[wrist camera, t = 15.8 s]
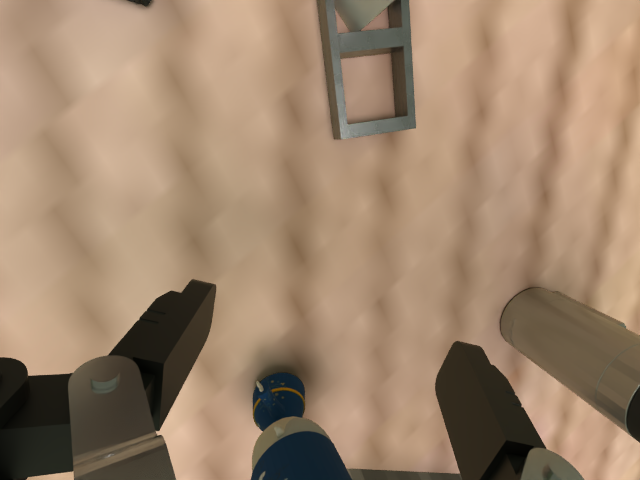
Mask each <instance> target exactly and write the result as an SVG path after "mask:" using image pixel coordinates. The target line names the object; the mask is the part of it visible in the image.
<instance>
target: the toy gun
mask: <svg viewBox="0 0 640 480" xmlns="http://www.w3.org/2000/svg"><path fill="white" fill-rule="evenodd" d="M128 1H131V2H135V3H138V4H143V5H144V6H148V5H149V3H150V1H151V0H128Z"/></svg>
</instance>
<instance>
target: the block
mask: <svg viewBox="0 0 640 480" xmlns="http://www.w3.org/2000/svg"><path fill="white" fill-rule="evenodd" d="M347 471H348V473H349V475H350V476H351V478H352V480H462V477H461V474H450V473H429V472H408V471H387V470H366V469H347Z"/></svg>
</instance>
